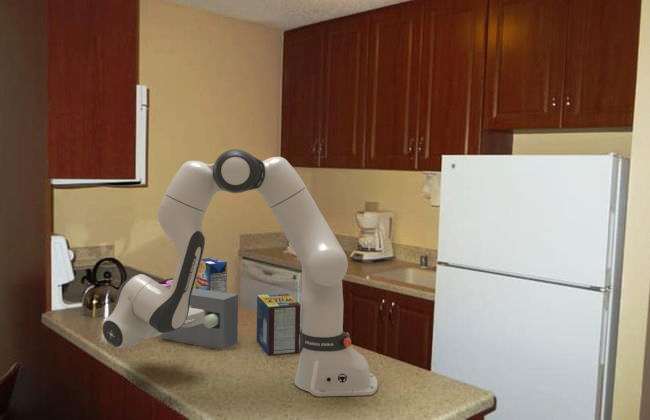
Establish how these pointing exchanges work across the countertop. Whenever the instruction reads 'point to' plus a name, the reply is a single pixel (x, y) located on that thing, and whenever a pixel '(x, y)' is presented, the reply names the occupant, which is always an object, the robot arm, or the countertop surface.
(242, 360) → the countertop surface
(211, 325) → the sage button
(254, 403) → the countertop surface
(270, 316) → the protein box
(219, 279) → the beverage box
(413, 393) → the countertop surface
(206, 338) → the button panel
